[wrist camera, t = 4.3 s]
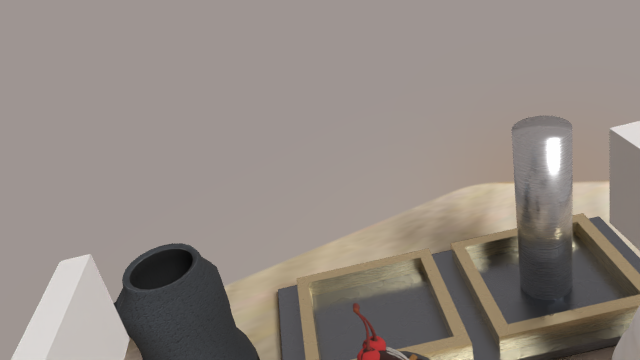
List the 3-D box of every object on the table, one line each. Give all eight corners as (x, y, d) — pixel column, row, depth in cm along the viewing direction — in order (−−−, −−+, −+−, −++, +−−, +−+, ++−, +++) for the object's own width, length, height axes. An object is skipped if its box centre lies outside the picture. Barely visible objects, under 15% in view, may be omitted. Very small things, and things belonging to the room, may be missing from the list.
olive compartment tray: (288, 419, 44) (234, 254, 37) (279, 296, 56) (237, 155, 49) (696, 326, 44) (720, 143, 37) (598, 223, 56) (602, 71, 49)
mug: (253, 323, 54) (218, 217, 49) (267, 401, 46) (226, 285, 41) (118, 363, 53) (67, 260, 48) (108, 451, 45) (45, 338, 40)
